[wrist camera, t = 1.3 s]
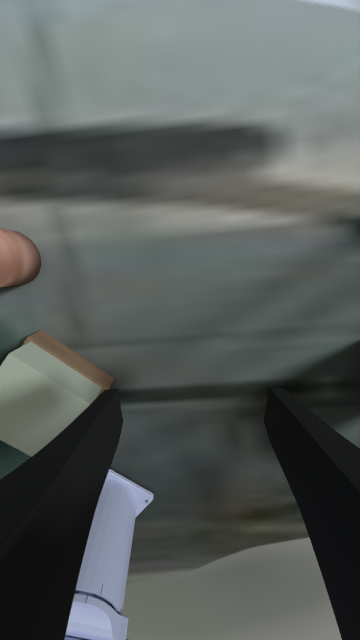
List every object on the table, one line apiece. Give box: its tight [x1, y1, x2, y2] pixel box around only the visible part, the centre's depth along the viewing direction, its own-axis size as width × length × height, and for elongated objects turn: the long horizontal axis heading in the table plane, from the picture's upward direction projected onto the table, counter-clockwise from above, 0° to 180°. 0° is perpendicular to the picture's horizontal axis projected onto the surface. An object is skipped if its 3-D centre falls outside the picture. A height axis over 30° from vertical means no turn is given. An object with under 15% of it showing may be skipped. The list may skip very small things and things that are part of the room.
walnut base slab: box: [21, 330, 114, 398], centre depth 20 cm, size 8×8×2 cm
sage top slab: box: [0, 342, 102, 457], centre depth 18 cm, size 7×7×2 cm
